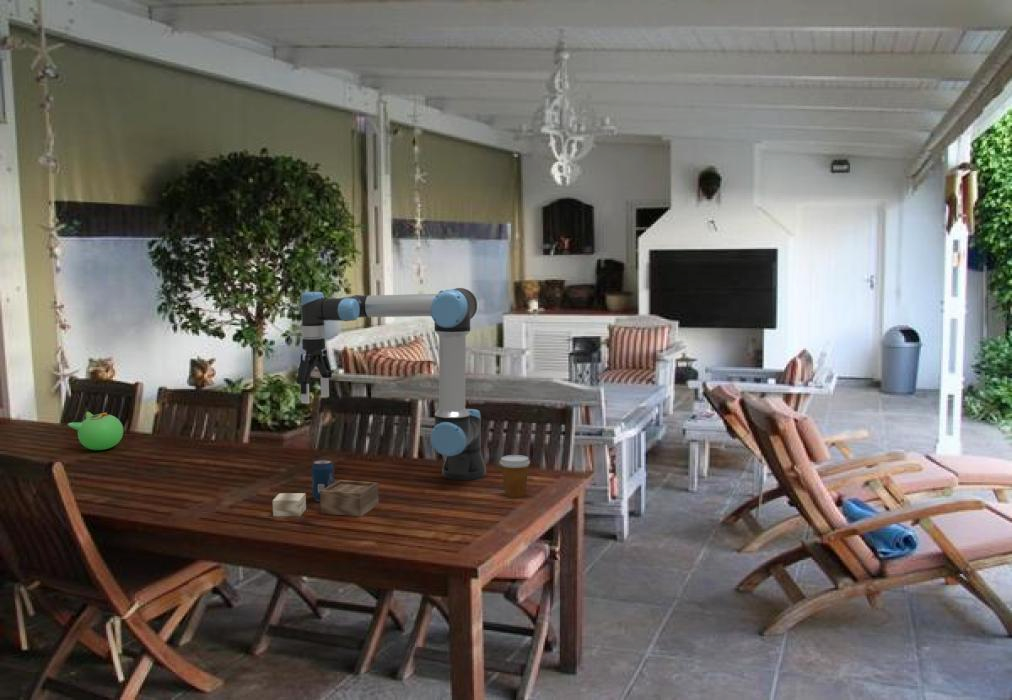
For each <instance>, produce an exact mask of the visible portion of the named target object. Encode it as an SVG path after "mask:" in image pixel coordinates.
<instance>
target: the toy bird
mask: <svg viewBox="0 0 1012 700" xmlns="http://www.w3.org/2000/svg"><path fill="white" fill-rule="evenodd" d="M67 426H68V427H70V428H71V429H74V430H76V431H77V438H78V441H79V442H80V443H81V445H82V446H83V447H84V448H85V449H89V450H92V451H104V450H108V449H111V448H113V447H115V446H116V445H117V444H119V443H120V442H121V440H122V438H123V436H124V426H123V423H122V422H121V420H120V419H118V418H117V417H116V416H114V415H112V414H108V412H102V413H97V414H92V413H91V412H89V411H86V412H85V419H83V420H82V422H81V421H80V422H69V423H67Z"/></svg>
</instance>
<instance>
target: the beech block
mask: <svg viewBox="0 0 1012 700" xmlns="http://www.w3.org/2000/svg"><path fill="white" fill-rule="evenodd" d="M306 493H307V492H304V493H303V492H298V493H296V492H295V493H294V492H293V493H288V492H287V493H286V492H285V493H284V492H283V493H278V494H277V495H276V496H275V497H274V499H272V517H301V516H302V514H303V513H304V512H305V511H306V509H307V504H306V503H307V501H306V500H307V499H306V498H307V496H306V495H307V494H306Z"/></svg>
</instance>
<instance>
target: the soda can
mask: <svg viewBox="0 0 1012 700" xmlns="http://www.w3.org/2000/svg"><path fill="white" fill-rule="evenodd" d="M332 461H333V460H331V459H317V460H315V461H313V462H312V466H311V490H312V493H311V494H312V495H311V496H312V497H313V500H315V501H316V502H320V491H321V490H322V489H324V488H326V487H328V486H330V485H332V484H333V483H335V466H334V464H333V462H332Z"/></svg>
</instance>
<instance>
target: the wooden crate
mask: <svg viewBox="0 0 1012 700" xmlns="http://www.w3.org/2000/svg"><path fill="white" fill-rule="evenodd" d="M319 502H320V514H322V515H323V514H324V515H325V514H327V515H337V516H347V517H351V516H352V517H360V518H361V517H362V516H364V515H366V514H367V513H369V512H370V511H371V510H373V509H374V508H376V507H378V506H379V503H380V502H379V482H374V481H373V482H371V481H360V480H359V481H358V480H346V479H345V480H343V479H339V480H337V481H334V483H333V484H332V485H330V486H328V487H326V488H324V489H322V490H321V491H320V501H319Z"/></svg>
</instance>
